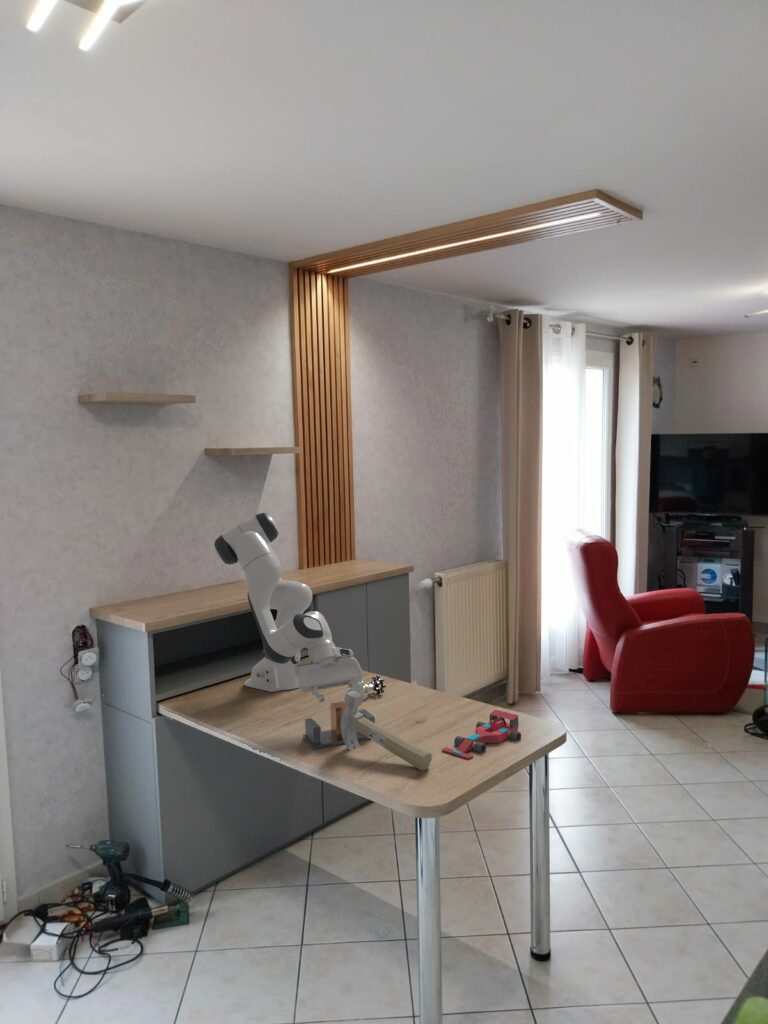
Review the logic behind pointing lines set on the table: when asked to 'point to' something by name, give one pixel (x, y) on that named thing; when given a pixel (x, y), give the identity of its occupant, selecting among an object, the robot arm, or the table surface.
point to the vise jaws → (328, 733)
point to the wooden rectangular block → (336, 718)
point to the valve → (369, 686)
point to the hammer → (378, 734)
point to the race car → (487, 734)
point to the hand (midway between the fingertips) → (336, 698)
